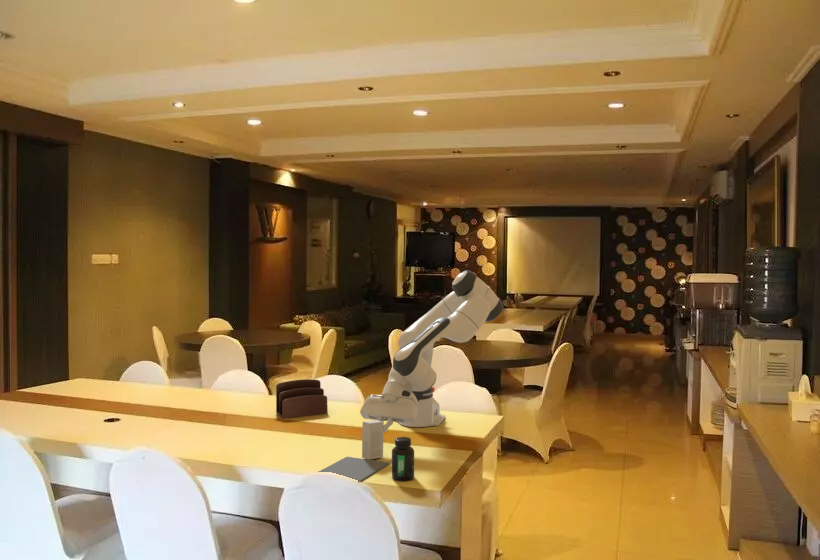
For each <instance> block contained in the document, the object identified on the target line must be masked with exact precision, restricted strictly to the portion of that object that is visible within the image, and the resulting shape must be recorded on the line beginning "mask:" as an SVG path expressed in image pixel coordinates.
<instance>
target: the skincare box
mask: <svg viewBox="0 0 820 560" xmlns="http://www.w3.org/2000/svg"><path fill="white" fill-rule="evenodd" d="M384 422H385V421H384ZM384 422H383V421H378V420H366V421H363V422H362V430H361V431H362V437H361V438H362V439H361V441H362V442H361V443H362V444H361V451H362V453H361V459H368V460H375V459H380V458H384V431H383V429H384V425H385V424H384Z"/></svg>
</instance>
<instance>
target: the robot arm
mask: <svg viewBox="0 0 820 560" xmlns="http://www.w3.org/2000/svg"><path fill="white" fill-rule="evenodd" d="M451 288H452V291H451V292H450V293H449V294H447V295H446V296H445V297H443V298H442V299H441V300H440V301H439V302H438V303H436V304H435V305H434V306H433V307H432V308H431V309H429V310H428V311H427V312H426V313H425V314H424V315H422V316H421V317H419V318H418V319H417V320H416V321H415V322H413V323H412V324H411V325H409V326H408V327H407V328H406V329H405V330H404V331H403V332H401V334H400V336H399V337H398V341H397V344H398V348H399V349H398V350H397V351H396V352H395V353H394V355H393V359H392V366H391V368H390V371H389V373H388V379H387V381H386V383H385V385H384V387H383V390H382V392H381V394H371V395H368V396H366V398H365V400H364V402H363V405H362V406H361V408H360V410H359V413H360V416H361V417H362V419H364V420H370V421H372V420H378V421H383V422H385V424H384V429H383V433H385V432H386V433H387V432H388V429H389V428H390V427H391V426H392V425H393V424H394V423H398V424H399V425H402V426H403V427H410V428H411V427H412V428H414V427H415V428H423V427H424V428H426V427H434V426H435V427H437V426H440V424H441V423H442V422H443V421H444V420H445V419H446V415H445V414H443V413H441V412H440V411H441V410H440V403H439V402H438V401H437V400H436V399H435V398H434V392H435V390H436V388H435V386H434V385H435V384H436V380H437V372H436V371H435V370H434V369H433V367H432V362H433V354H434V353H433V352H434V344H435V343H436V342H437V341H439V340H440V339H441V338H445V339H448V340H450V341H452V342H455V343H466V342H468V341H470V340H472V338H473V337H474V336H475V335H476V334H477V332H478V331H479V330H480V329H481V328H482V326H483V325H484V324H485V322H492V321H494V320H496V319H497V318H498V317H499V316H500V315H501V314H502V312H503V310H504V303H503V301H502V300H501V298H500V297H498V295H496V293H495V291H493V290H492V288H491V287H490V286H489V285H487V283H485V281H483V280H482V279H481V278H479V277H478V276H477V274H476V273H474V272H473V271H472V270H469V269H468V270H464V271H462V272H461V273H458V274H457V275H456V277H455V278H454V280H453V281H452V283H451Z"/></svg>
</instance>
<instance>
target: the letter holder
mask: <svg viewBox="0 0 820 560" xmlns="http://www.w3.org/2000/svg"><path fill="white" fill-rule="evenodd" d="M321 386H322V385H321V381H320V380H319V379H309V378H308V379H297V380H296V379H294V380H287V381H283V382H279V383H277V384H276V386H275V398H276V399H275V402H276V403H275V404H276V405H275V407H276V411H275V412H276V415H277V416H279V417H280V418H281V419H282V420H283V419H292V418H300V417H310V416H318V415H319V416H320V415H327V414H328V412H329V411H328V396H327V395H325V391H324V390H325V389H323V388H322V387H321Z"/></svg>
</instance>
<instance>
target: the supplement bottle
mask: <svg viewBox="0 0 820 560" xmlns="http://www.w3.org/2000/svg"><path fill="white" fill-rule="evenodd" d="M391 478H392V480H394V481H397V482H409V481H413V480H414V478H415V449H414V448H413V447H412V439H411V438H410V437H407V436H400V437H399V436H398V437H396V438H395V439H394V447H392V449H391Z"/></svg>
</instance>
